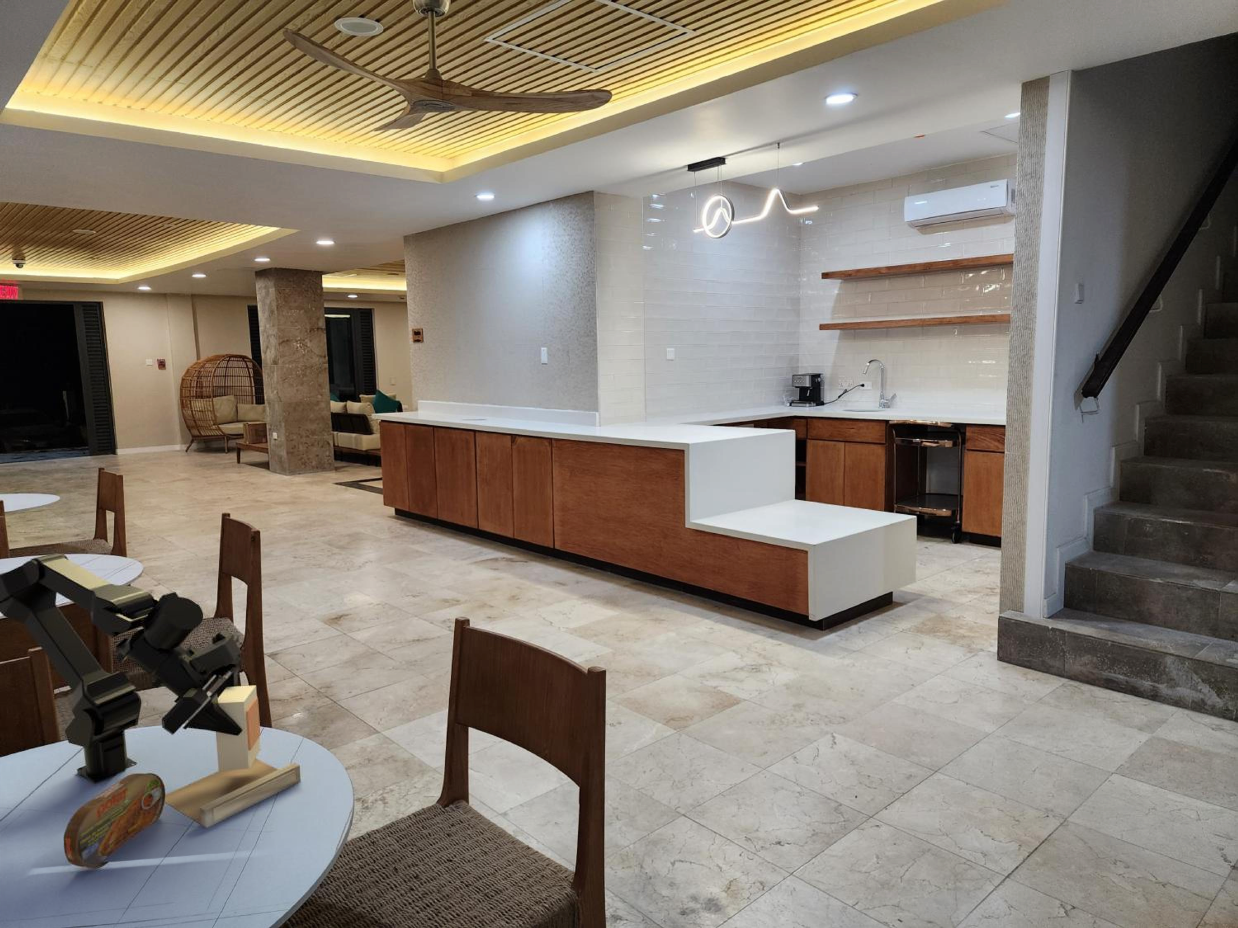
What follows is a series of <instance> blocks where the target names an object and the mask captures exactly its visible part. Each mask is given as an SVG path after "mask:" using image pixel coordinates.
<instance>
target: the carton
mask: <svg viewBox="0 0 1238 928" xmlns="http://www.w3.org/2000/svg"><path fill="white" fill-rule="evenodd" d="M218 705H219V706H220V707H221V708H222V709H223V710H224V711H225V712H226V713H227V714H228V715H229V716H230V717H231V718H232V719H233V720H234V721H235V722H236V723H237V724H238V725H239V726H240V727H241V729H242V732H241V733H240V734H239V735H238V736H235V735H230V734H225V733H219V732H215V743H216V753H217V764H218V765H217V766H218V771H225V770H240V769H249V768H250V766H251V764H252V763H253V761H254V760H255V758H256V759H257V756H258V755H259V753H260V752H261V750H262V749H261V738H260V737H261V725H260V723H261V722H260V710H259V698H258V694H257V685H241V686H240V685H239V686H237V687H227V688H226V689H225V690H224V691H223V693H222V694H221V695H220V696H219V697H218Z"/></svg>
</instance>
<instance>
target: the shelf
mask: <svg viewBox="0 0 1238 928" xmlns="http://www.w3.org/2000/svg"><path fill="white" fill-rule="evenodd" d="M300 767H301V766H300V764H298V763H296V762H292V763H290V764H287V765H285V766H283V767H281V768H279V769H278V768H276V767H274V766H272V765H270V764H268V763H266V762H264V761H261V760H259V759H257V757H256V758H255V760H254V761H253V763H252V764H251V766H250V768H249V769H240V770H225V771H219V770H218V771H216V772H214V773H211V774H209V775H206V776H205V777H202V778H200V779H198V780H196V781H194V782H191V783H189V784H186V785H184V786H182V787H180V788H178V789H175V790H174V791H172V792H168V793H165V803H164V804H167V805H169V806H170V807H171V808H173V809H175V810H177V811H178V812H180V813H182V814H183V815H185V816H186V817H188V818H190V819H192V821H195V822H196V823H197V824H199V825H201V826H203V827H205V828H206V829H207V828H209V827H212V826H214V825H215V824H217V823H220V822H222V821H224V820H225V819H226V820H227V819H228V818H229V817H231V816H234V815H236V814H238V813H240V812H241V811H244V810H245V809H248V808H250V807H252V806H253V805H256V804H258V803H260V802H261V801H263V800H265V799H268V798H269V797H272V796H274V795H275V794H277V793H280V792H282V791H283V790H285V789H287V788H290V787H291V786H294V785H295V784H297V783H300V782H301V768H300Z"/></svg>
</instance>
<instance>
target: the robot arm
mask: <svg viewBox="0 0 1238 928" xmlns="http://www.w3.org/2000/svg"><path fill="white" fill-rule="evenodd" d="M57 595H60V596H62V597H64V598H65V599H68V600H69V601H71V602H73V603H74V604H75V605H77V606H79V607H81V608H82V609H84V610H86V611H87V612H89V613H90V618H91V619H90V620H91V623H92V624H93V625H94V626H95V627H97V628H98V629H99V630H100V631H101V632H102V633H104V634H105V635H106V636H108V637H111V638H115V637H119V636H121V635H124V634H127V633H130V632H133V631H135V630H137V631H135V632H134V633H133V634H132V635H131V636H130V637H128V638H127V637H125V638H123V639H122V640H121V641H120V642H118V643H117V644H116V645H115V646H114V648H115V650H116V656H115V659H116V662H117V663H119V664H121V663H123V662H124V661H125V660H126V659H127V658H128V660H130V661H132V663H134V664H135V665H137V666H138V667H139V668H141V669H142V670H143V671H144V672H146V673H147V674H148V675H149V676H150V677H152V678H153V679H154V682H153V683H152V684H151V685H152V686H153V687H154V688H156V689H159V687H161V686H164V687H165V688H166V689H167V690H169V691H170V692H172V693H173V694H174V695H175V696H177V697H176V699H175V700H174V701H173V702H174V703H175V704H174V705H173V706H172V707H171V708H170V709H169V710H168V711H167V713H165V714H164V715H163V716H162V717H161V727H162V729H164V730H165V731H167V732H168V733H169V734H170V735H171V736H173V735H175V733H177V732H178V731H179V729H180V728H181V727H182V726H183V727H182V729H184V730H187V729H192V730H193V729H195V730H200V731H201V730H203V731H208V732H215V733H216V732H219V733H225V734H230V735H235V736H238V735H239V734H240V733H241V732H242V729H241V727H240V726H239V725H238V724H237V723H236V722H235V721H234V720H233V719H232V718H231V717H230V716H229V715H228V714H227V713H226V712H225V711H224V710H223V709H222V708H221V707H220V706H219V705H218V697H219V696H220V695H221V694H222V693H223V691H224V690H225V689H226V688H227V687H237V686H240V684H239V682H238V681H239V679H238V678H239V677H238V676H239V675H238V673H239V671H240V668H239V666H238V667H236V666H237V665H238V664H239V663H240V661H241V660H242V657H240V656H239V655H240V654H241V653H242V650H241V649H240V647H239V646H238V644H237V643H238V642H239V641H240V639H239V637H237V636H235V635H234V634H233V633H230V632H228V631H227V630H225V629H223V630H221V631H219V632H217V633H215V634H214V635H213V636H212V637H211V643H210V644H208V646H206V647H205V648H203V649H201V650H200V649H198V648H197V647H196V646H194V645H193V646H191V645H190V646H189V647H188V648H187V649H186V648H185V647H183V646H182V645H183V643H184V642H185V641H186V640H187V639H188V638H189V637H190V635H192V634H193V633H194V631H196V630H197V628H199V626H200V625H201V624H202V622H203V619H204V613H203V609H202V607H201V606H200V604H198V603H196V602H195V601H194V600H192V599H190V598H187V597H182V596H179V594H177V591H171V592H168V593H164V594H162V595H161V596H160V597H159V598H158V597H155V596H153V595H152V593H150V592H149V591H148V590H145V589H142V588H139V587H136V586H132V585H121V584H120V585H119V584H118V585H117V584H113V583H110V582H108V581H107V580H105V579H103V578H101V577H100V576H98V575H96V574H94V573H92V572H90V571H89V570H87V569H85V568H83V567H82V566H80V565H78V564H76V563H74V562H72V561H71V560H69V558H68V557H67V555H66V554H64V553H59V552H55V553H51V554H45V555H42V556H38V557H32V558H30V560H28V561H26V562H25V563H23V564H22V565H20V566H17V567H16V568H13V569H11V570H9V571H6V572H2V573H1V572H0V614H1V615H2V616H3V617H6V618H8V619H10V620H13V621H16V622H19V623H21V624H23V625H24V626H25V627H26V629H27V630H28V631H29V633H30V634H31V636H32V637H33V638H34V640H35V641H36V642H37V644H38V645H39V647H40V648H41V650H43V652H44V653H45V655H46V656H47V658H48V659H49V660H50V662H51V663H52V665H53V666H54V667H55V669H56V670H57V672H58V674H60V676H61V677H62V679H63V680H64V681H65V683H66V684H67V686H68V687H69V688H70V690H71V691H72V702H71V703H72V704H71V713H72V714H73V716H74V718H73V719H72V720H71V722H70V723H69V725H67V727H66V728H65V729H64V733H65V736H66V739H67V741H68V743H69V744H71V745H75V746H79V747H83V755H84V764H85V765H83V766H81V767H78V768H77V769H76V772H77V774H79V775H80V776H82V777H84V778H85V779H86V780H88V781H90V782H92V783H93V784H97V783H100V782H103V781H105V780H107V779H110V778H112V777H115V776H116V775H117V774H118V773H120V772H123V771H125V770H126V769H129V768H131V767H134V766H136V765H138V764H137V762H136V761H135V760H133V759H131V758H129V757H128V753H127V751H128V750H127V743H126V742H127V741H126V732H125V731H126V730H128V729H131V728H132V727H136V726H138V724H139V719H140V714H141V710H142V709H141V708H142V698H141V695H140V694H139V693H138V692H137V687H136V686H135V685H133V684H132V683H131V681H130V680H129V678H128V675H126V674H125V673H124V672H123V671H120V670H119V671H117V672H115V673H109V672H107V671H105V670H104V668H102V666H101V665H100V663H99V662H98V661H97V659H96V658H95V656H94V655H93V654H92V653H91V651H90V650H89V648H88V646H86V644H85V643H84V642H83V640H82V639H81V638H80V636H79V635H78V634H77V632H76V631H75V629H74V627H72V625H71V623H70V622H69V621H68V619H66V617H65V615H64V614H63V613H62V611H61V610H60V609H59V607H58V606H57V604H56V603H57ZM138 629H139V630H138ZM233 668H235V669H233ZM232 669H233V671H232V672H231V670H232ZM208 693H210V695H208ZM184 724H185V725H184Z"/></svg>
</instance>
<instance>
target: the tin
mask: <svg viewBox="0 0 1238 928" xmlns="http://www.w3.org/2000/svg"><path fill="white" fill-rule="evenodd" d="M165 795H166V788H165V784H164V782H163V779H162V778H161V777H160V776H159V775H158V774H156V773H152V772H147V773H139V772H138V773H132V774H129V775H127V776H125V777H123V778H122V779H120V780H119V781H117V782H116V783H114V784H113V785H111V786H110V787H108V788H107V789H106V790H104V791H102V792H101V793H99V794H98V795H96V796H94V798H92V799H91V800H89V801H88V802H86V803H84V804H83V805H82V806H80V807H79V808H78V809H77V811H75V812H74V814H73V815H72V816H71V818H70V820H69V822H68V823H67V825H66V827H65V830H64V833H63V850H64V854H65V858H66V859H67V861H68V863H70V864H71V865H74V866H75V867H81V868H82V867H83V868H88V869H98V868H99V869H100V868H101V867H103V866H105V865H107V864H108V863H109V861H104V859H106V858H107V857H108V856H110V855H111V854H112V853H113V852H115V851H117V850H118V849H119V848H121V847H122V846H123V845H125V843H127V842H128V841H130V840H131V839H132V838H134V837H135V836H136V835H138V834H139V833H140V832H142V831H143V830H145V828H147V827H149V826H150V825H151V824H154V823H156V822H158V821H159V819H160V817H161V815H162V812H163V809H164V806H165V804H166V803H165ZM102 861H103V862H102Z"/></svg>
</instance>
